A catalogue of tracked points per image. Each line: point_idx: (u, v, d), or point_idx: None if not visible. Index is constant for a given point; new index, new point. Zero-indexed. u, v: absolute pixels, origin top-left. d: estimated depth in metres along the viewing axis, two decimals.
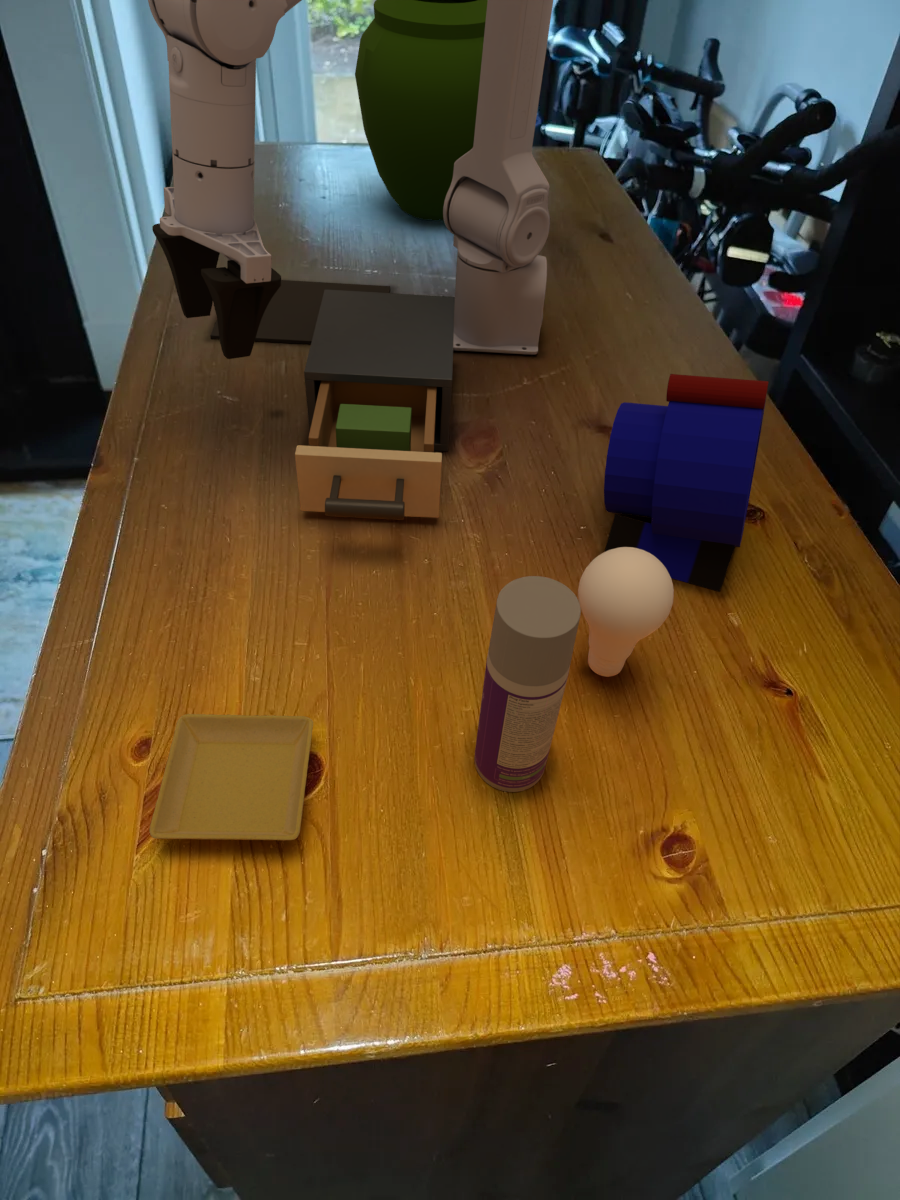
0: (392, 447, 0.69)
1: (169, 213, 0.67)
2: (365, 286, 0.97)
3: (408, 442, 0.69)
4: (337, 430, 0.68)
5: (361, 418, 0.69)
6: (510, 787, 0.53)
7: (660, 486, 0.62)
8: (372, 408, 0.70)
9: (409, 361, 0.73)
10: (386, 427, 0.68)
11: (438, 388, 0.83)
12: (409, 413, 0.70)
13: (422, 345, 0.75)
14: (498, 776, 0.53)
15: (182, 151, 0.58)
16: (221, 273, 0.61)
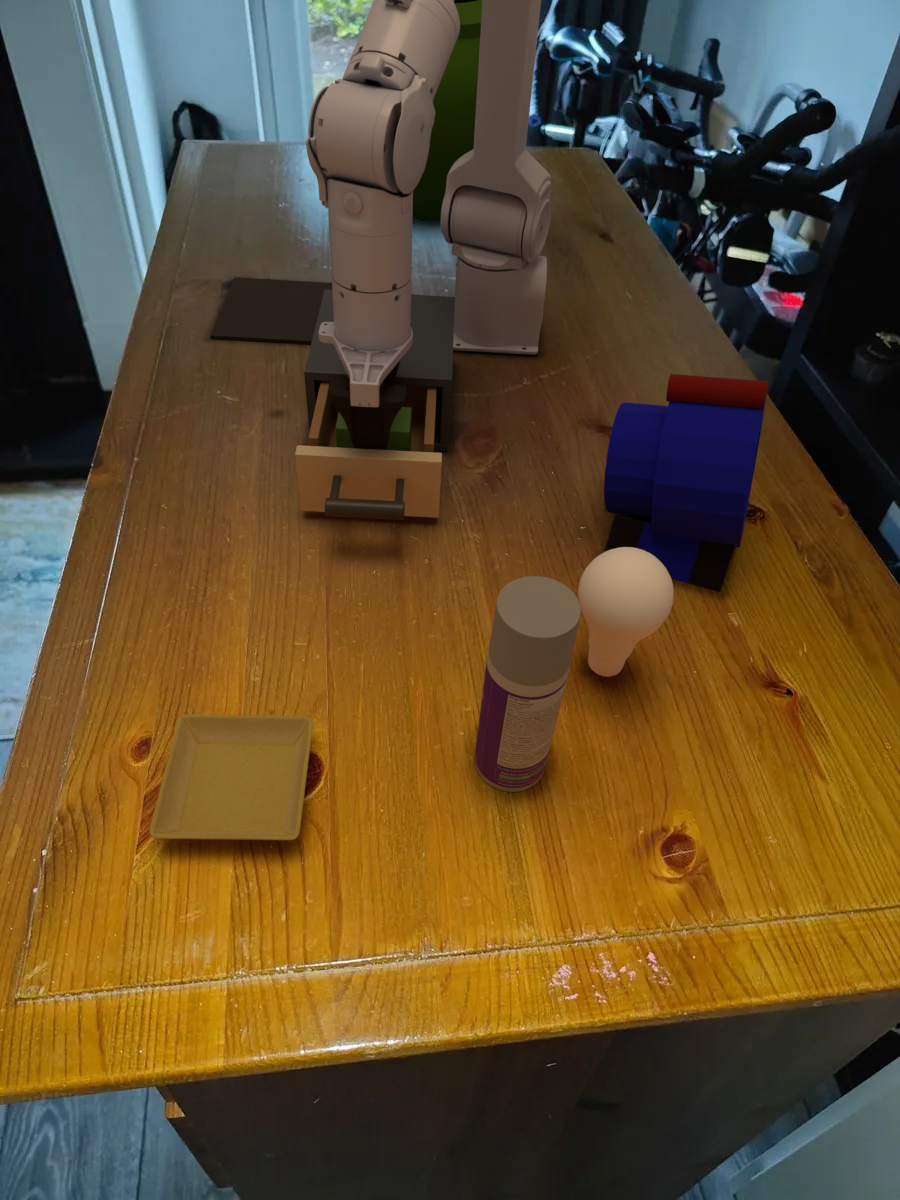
0: (392, 447, 0.69)
1: None
2: None
3: (408, 442, 0.69)
4: (337, 430, 0.68)
5: None
6: (510, 787, 0.53)
7: (660, 486, 0.62)
8: None
9: (409, 361, 0.73)
10: None
11: (438, 388, 0.83)
12: (409, 413, 0.70)
13: (422, 345, 0.75)
14: (498, 776, 0.53)
15: (362, 285, 0.58)
16: (344, 386, 0.62)
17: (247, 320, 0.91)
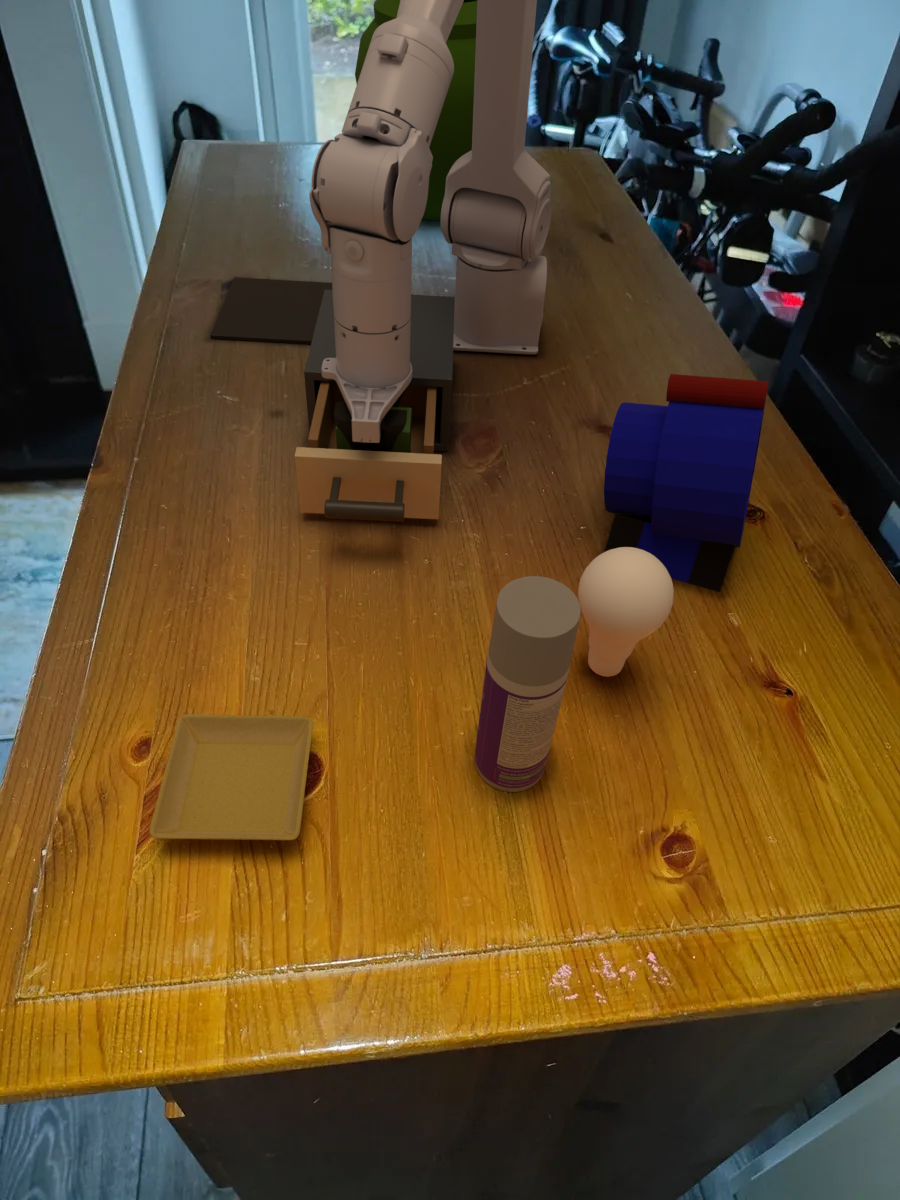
0: None
1: None
2: None
3: (408, 442, 0.69)
4: (337, 430, 0.68)
5: None
6: (510, 787, 0.53)
7: (660, 486, 0.62)
8: None
9: None
10: None
11: (438, 388, 0.83)
12: (409, 413, 0.70)
13: (422, 345, 0.75)
14: (498, 776, 0.53)
15: (363, 326, 0.60)
16: (348, 410, 0.65)
17: (247, 320, 0.91)
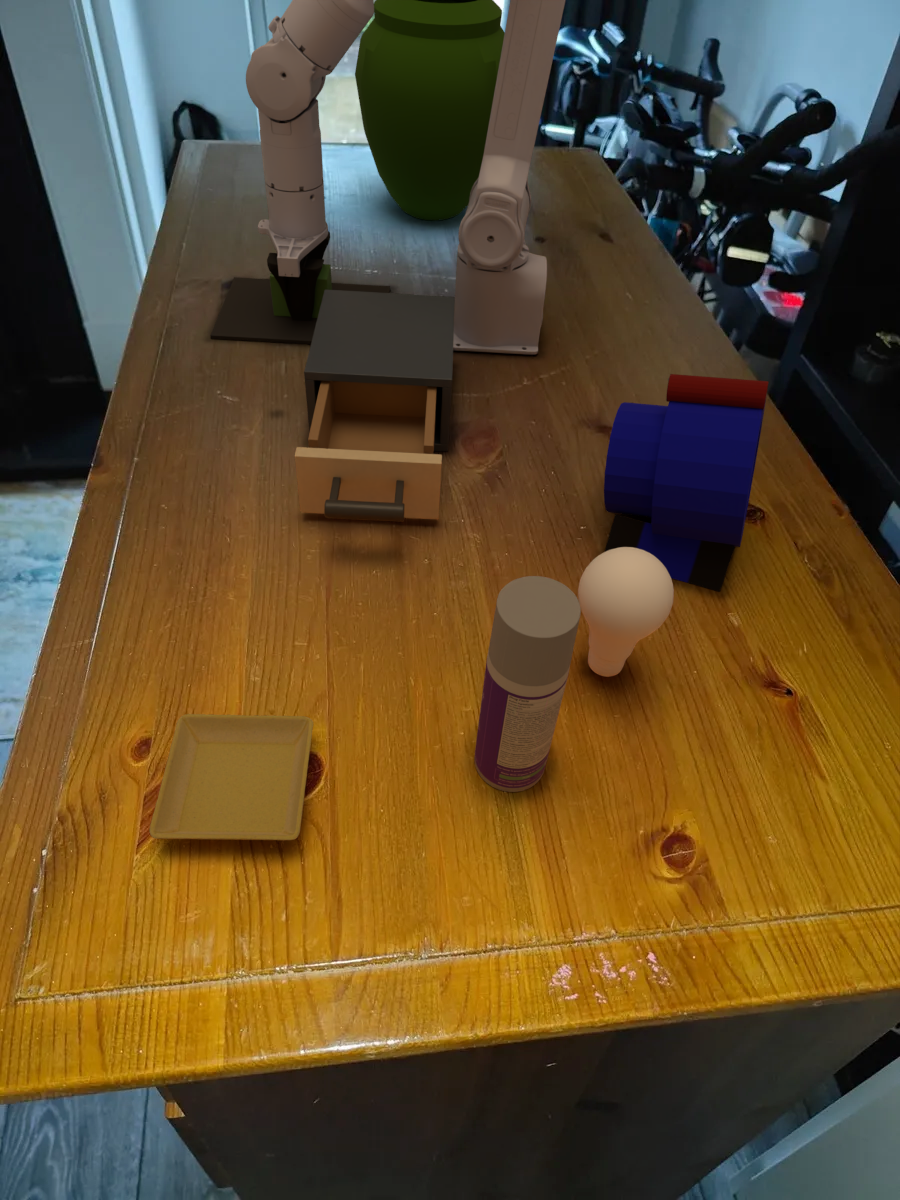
0: None
1: None
2: (365, 286, 0.97)
3: (326, 289, 0.89)
4: (271, 278, 0.88)
5: None
6: (510, 787, 0.53)
7: (660, 486, 0.62)
8: None
9: (409, 361, 0.73)
10: None
11: (438, 388, 0.83)
12: (328, 268, 0.90)
13: (422, 345, 0.75)
14: (498, 776, 0.53)
15: None
16: None
17: (247, 320, 0.91)
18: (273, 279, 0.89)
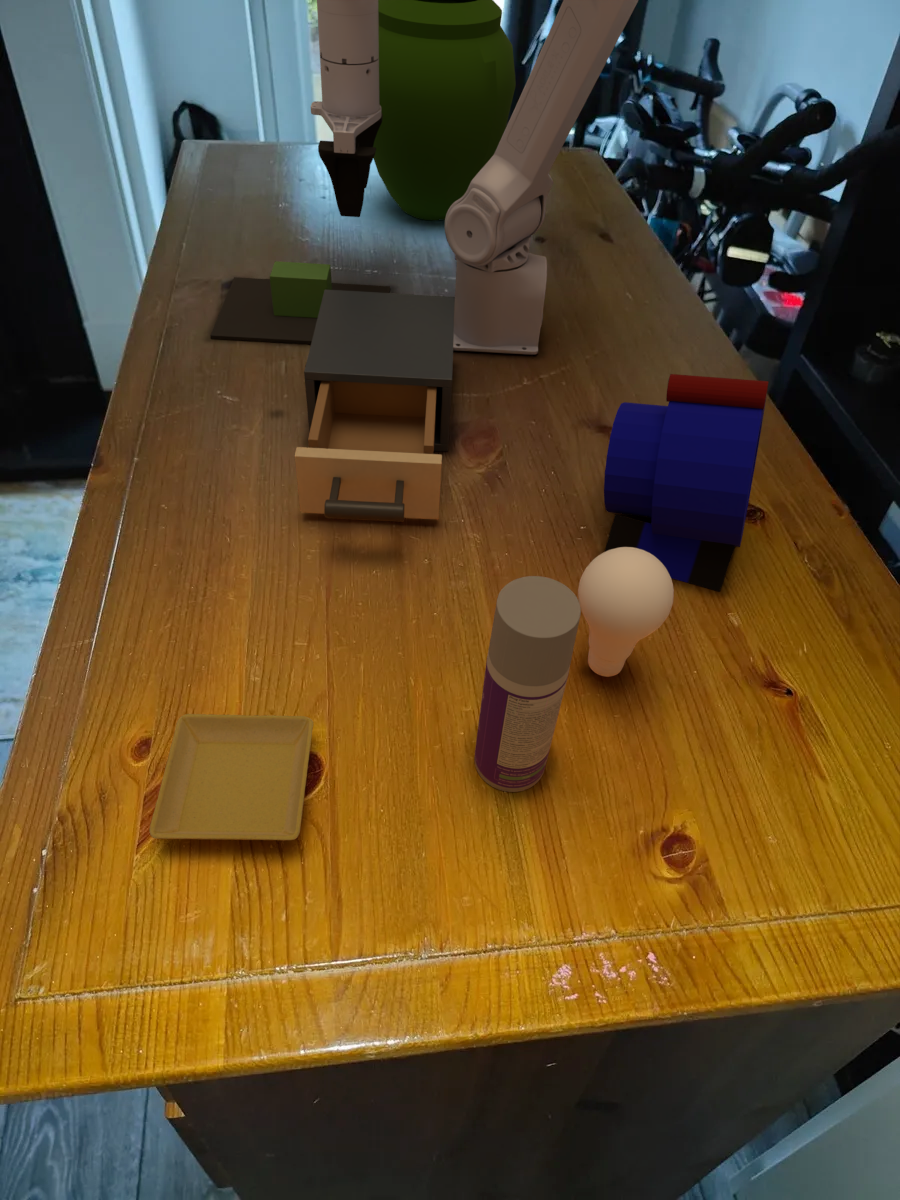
0: (314, 292, 0.90)
1: None
2: (365, 286, 0.97)
3: (326, 288, 0.89)
4: (271, 278, 0.88)
5: (290, 270, 0.89)
6: (510, 787, 0.53)
7: (660, 486, 0.62)
8: (299, 264, 0.90)
9: (409, 361, 0.73)
10: (309, 276, 0.89)
11: (438, 388, 0.83)
12: (328, 268, 0.90)
13: (422, 345, 0.75)
14: (498, 776, 0.53)
15: None
16: (329, 144, 0.83)
17: (247, 320, 0.91)
18: (273, 279, 0.89)
